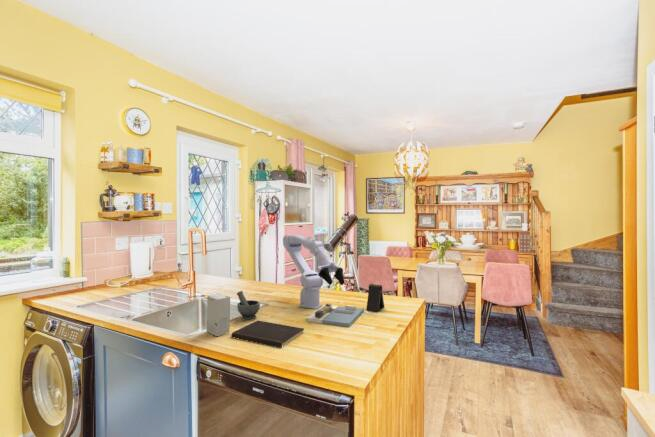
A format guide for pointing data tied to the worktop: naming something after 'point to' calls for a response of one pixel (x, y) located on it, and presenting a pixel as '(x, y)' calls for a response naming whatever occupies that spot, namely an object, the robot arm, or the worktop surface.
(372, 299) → the phone stand
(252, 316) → the mortar and pestle
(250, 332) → the hardcover book
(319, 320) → the jamb plate
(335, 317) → the door panel
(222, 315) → the skincare box
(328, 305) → the swing bar
